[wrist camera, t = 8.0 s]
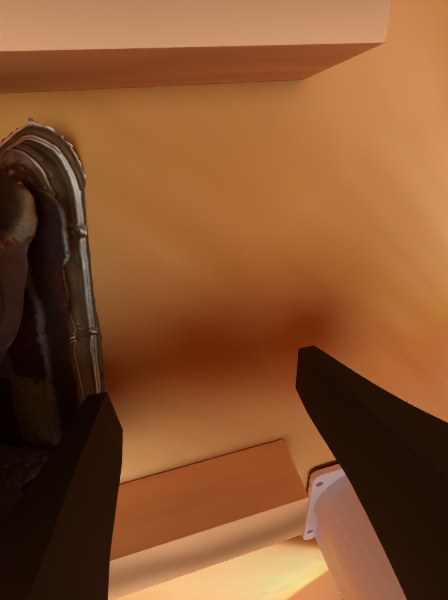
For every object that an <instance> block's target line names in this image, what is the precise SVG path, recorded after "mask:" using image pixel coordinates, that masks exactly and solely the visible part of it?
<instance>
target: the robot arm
mask: <svg viewBox="0 0 448 600" xmlns="http://www.w3.org/2000/svg"><path fill="white" fill-rule="evenodd" d="M296 390H297V392H298V394H299V396H300V398H301V401H302V403H303V405H304V407H305V409H306V411H307V413H308V415H309V416H310V418H311V420H312V421H313V423H314V424H315V426H316V428H317V429H318V431H319V433H320V434H321V436H322V437H323V439H324V441H325V442H326V444H327V445H328V447H329V449H330V450H331V452H332V453H333V455H334V457H335V458H336V460H337V461H338V463H339V464H336V465H333V466H330V467H326V468H323V469H320V470H317V471H315V472H313V473H312V474H311V477H310V483H309V489H308V496H309V500H308V506H307V512H306V518H305V524H304V530H303V534H302V537H303V539H304V540H308V539H311V538H314V537H315V538H316V540H317V543H318V545H319V547H320V550H321V552H322V554H323V557H324V559H325V561H326V564H327V566H328V568H329V571H330V573H331V575H332V578H333V580H334V583H335V585H336V587H337V590H338V592H339V594H340V597H341V599H342V600H448V423H447V422H445V421H443V420H441V419H439V418H437V417H435V416H433V415H431V414H428V413H426V412H424V411H422V410H420V409H418V408H416V407H414V406H413V405H411V404H409V403H407V402H405V401H403V400H401V399H400V398H398V397H396V396H394V395H393V394H391V393H389V392H387V391H385V390H384V389H382V388H380V387H379V386H377V385H375V384H374V383H372V382H370V381H369V380H367V379H365V378H364V377H362V376H361V375H359V374H357V373H356V372H354V371H353V370H351V369H349V368H348V367H346V366H345V365H343V364H342V363H340V362H339V361H337V360H336V359H334V358H333V357H331V356H330V355H328V354H326V353H325V352H323V351H322V350H320V349H319V348H317V347H315V346H309V347H305V348H300V349H299V352H298V364H297V376H296ZM122 442H123V430H122V427H121V425H120V422H119V420H118V418H117V415H116V413H115V410H114V408H113V405H112V403H111V401H110V398H109V396H108V393H107V391H106V392H101V393H97V394H92V395H88V396H87V397H86V398H85V400H84V401H83V403H82V404H81V406H80V408H79V409H78V411H77V413H76V414H75V416H74V418H73V419H72V421H71V422H70V424H69V426H68V427H67V429H66V430H65V432H64V434H63V435H62V437H61V438H60V440H59V442H58V443H57V445H56V446H55V448H54V449H53V451H52V452H51V454H50V455H49V457H48V458H47V460H46V461H45V463H44V464H43V466H42V467H41V469H40V470H39V472H38V473H37V475H36V476H35V477H34V479H33V480H32V482H31V483H30V484H29V486H28V487H27V489H26V490H25V492H24V493H23V494H22V496H21V497H20V499H19V500H18V501H17V503H16V504H15V506H14V507H13V508H12V510H11V511H10V512H9V514H8V515H7V516H6V518H5V519H4V520H3V521H2V523H1V524H0V600H108V588H109V568H110V554H111V544H112V536H113V528H114V521H115V513H116V505H117V498H118V490H119V482H120V475H121V466H122Z"/></svg>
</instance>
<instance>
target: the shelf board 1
mask: <svg viewBox="0 0 448 600" xmlns="http://www.w3.org/2000/svg"><path fill="white" fill-rule="evenodd" d="M391 3H392V0H0V93H17V92H39V91H61V90H83V89H105V88H127V87H149V86H171V85H193V84H215V83H237V82H259V81H281V80H302V79H306V78H308V77H310V76H312V75H315V74H317V73H319V72H321V71H323V70H326V69H328V68H330V67H332V66H334V65H337V64H339V63H341V62H343V61H345V60H348V59H350V58H352V57H354V56H357V55H359V54H361V53H363V52H365V51H368V50H370V49H372V48H374V47H376V46H379V45H381V44H383V43H385V39H386V33H387V27H388V21H389V15H390V9H391Z"/></svg>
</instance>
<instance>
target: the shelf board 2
mask: <svg viewBox="0 0 448 600" xmlns="http://www.w3.org/2000/svg"><path fill="white" fill-rule="evenodd" d="M308 500H309V496H308V494H307V492H306V490H305V487H304V485H303V483H302V481H301V479H300V476H299V474H298V472H297V470H296V468H295V465H294V463H293V461H292V459H291V457H290V454H289V452H288V450H287V448H286V446H285V443H284V441H283V439H282V440H278V441H275V442H271V443H267V444H264V445H260V446H257V447H253V448H249V449H246V450H242V451H239V452H235V453H232V454H228V455H224V456H221V457H217V458H214V459H210V460H206V461H203V462H199V463H196V464H192V465H188V466H185V467H181V468H178V469H174V470H171V471H167V472H163V473H160V474H156V475H153V476H149V477H145V478H142V479H138V480H135V481H131V482H127V483H124V484H120V485H119V490H118V498H117V505H116V513H115V521H114V528H113V536H112V544H111V554H110V568H109V588H108V600H113V599H116V598H119V597H122V596H125V595H128V594H131V593H134V592H137V591H140V590H142V589H145V588H148V587H151V586H154V585H157V584H160V583H163V582H166V581H169V580H171V579H174V578H177V577H180V576H183V575H186V574H189V573H192V572H195V571H198V570H200V569H203V568H206V567H209V566H212V565H215V564H218V563H221V562H224V561H227V560H229V559H232V558H235V557H238V556H241V555H244V554H247V553H250V552H253V551H256V550H258V549H261V548H264V547H267V546H270V545H273V544H276V543H279V542H282V541H284V540H287V539H290V538H293V537H296V536H299V535H302V534H303V530H304V524H305V518H306V512H307V506H308Z"/></svg>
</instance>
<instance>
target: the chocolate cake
mask: <svg viewBox="0 0 448 600" xmlns="http://www.w3.org/2000/svg"><path fill="white" fill-rule="evenodd" d="M72 147H73V145H72V144H70V143H69V142H67V141H66V140H64V138H63V136H61V137H59V136H58V135H56V133H55V130H54V128H53V127H49V126H43V124H42V125H41V124H39V123H37V122H36V121H34V120H33V119H31V118H29V119H28V122H27V124H26V125H24V126H23V127H21V128H16V130H15V132H14V133H13V132H11V134H10V135H9V136H8V137H7V138H4V139H2V142H1V145H0V524H1V523H2V521H3V520H4V519H5V518H6V516H7V515H8V514H9V512H10V511H11V510H12V508H13V507H14V506H15V504H16V503H17V501H18V500H19V499H20V497H21V496H22V494H23V493H24V492H25V490H26V489H27V487H28V486H29V484H30V483H31V482H32V480H33V479H34V477H35V476H36V475H37V473H38V472H39V470H40V469H41V467H42V466H43V464H44V463H45V461H46V460H47V458H48V457H49V455H50V454H51V452H52V451H53V449H54V448H55V446H56V445H57V443H58V442H59V440H60V438H61V437H62V435H63V434H64V432H65V430H66V429H67V427H68V426H69V424H70V422H71V421H72V419H73V418H74V416H75V414H76V413H77V411H78V409H79V408H80V406H81V404H82V403H83V401H84V400H85V398H86V397H87V396H88V395H92V394H97V393H101V392H106V391H107V385H106V380H105V370H104V365H103V359H102V348H101V342H102V335H101V332H100V327H99V321H98V316H97V313H96V307H95V298H94V292H93V283H92V274H91V263H90V251H89V244H88V229H87V221H86V206H85V190H84V189H85V178H86V175H85V174H84V172H83V170H82V166H81V162H80V161H79V160H78V156H77V154H76V153H75V152H74V151H73V149H72Z"/></svg>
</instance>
